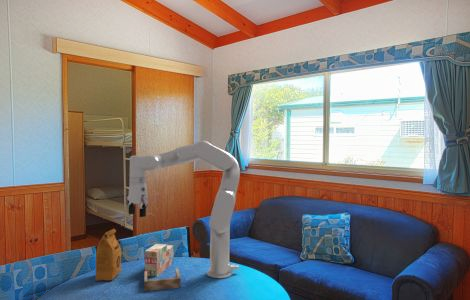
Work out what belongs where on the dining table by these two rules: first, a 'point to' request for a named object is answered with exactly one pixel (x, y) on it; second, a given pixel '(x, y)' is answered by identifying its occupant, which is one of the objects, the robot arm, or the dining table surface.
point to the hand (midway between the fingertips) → (137, 215)
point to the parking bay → (162, 282)
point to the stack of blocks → (158, 259)
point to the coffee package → (108, 257)
